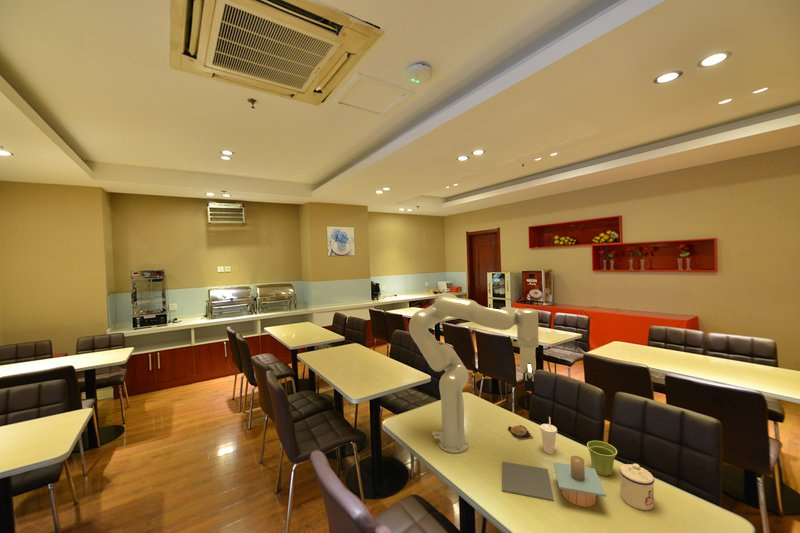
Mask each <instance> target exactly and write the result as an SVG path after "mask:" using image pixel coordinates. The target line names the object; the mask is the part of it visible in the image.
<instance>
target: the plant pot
mask: <svg viewBox="0 0 800 533" xmlns="http://www.w3.org/2000/svg"><path fill="white" fill-rule="evenodd" d="M586 446H587V449H588V452H589V456H590V461H591V468H595V470H596V473H597V475H600V476H604V477H608V476H612V474H613V469H614V464H615V463H614V462H615V458H616V456H617V455H618V450H617V448H616V447H614V446H613V445H612V444H609V443H607V442H606V441H605V442H604V441H602V440H591V441H590V440H589V441H588V442H587V443H586Z"/></svg>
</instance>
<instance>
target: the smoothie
mask: <svg viewBox="0 0 800 533" xmlns="http://www.w3.org/2000/svg"><path fill="white" fill-rule="evenodd" d="M551 420H552V419H551V417H550V416H548V423H542V424H539V429H540V432H541V439H542V445H543V446H542V447H543V451H544V453H546V454H549V455H553V454H554V453H555V452H554V451H555V446H556V445H555V444H556V437H557V433H558V428H557V427H556V426H555V425H553V424H551Z"/></svg>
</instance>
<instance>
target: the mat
mask: <svg viewBox="0 0 800 533" xmlns="http://www.w3.org/2000/svg"><path fill="white" fill-rule="evenodd" d="M501 465H502V466H501V468H502V470H501V471H502V473H501V475H502V476H501V480H502V481H501V485H502V486H501V492H503V493H509V494H513V495H518V496H524V497H529V498H534V499H539V500H546V501H549V502H550V501H551V502H555V499H554V494H553V489H552V485H551V483H552V482H551V479H550V474H549V470H548V468H544V467H538V466H532V465H525V464H520V463H519V464H518V463H513V462H509V461H502V464H501Z"/></svg>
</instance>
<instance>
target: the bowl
mask: <svg viewBox="0 0 800 533" xmlns="http://www.w3.org/2000/svg"><path fill="white" fill-rule="evenodd" d="M560 490H561V494H562V496H563V497H564V499H566V501H568V502H569V503H572V504H574V505H576V506H578V507H584V508H589V507H592V506H594V505H595V503H596V502H597V498H596V497H597V495H593V494H587V493H581V492H576V491H570V490H564V489H560Z"/></svg>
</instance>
